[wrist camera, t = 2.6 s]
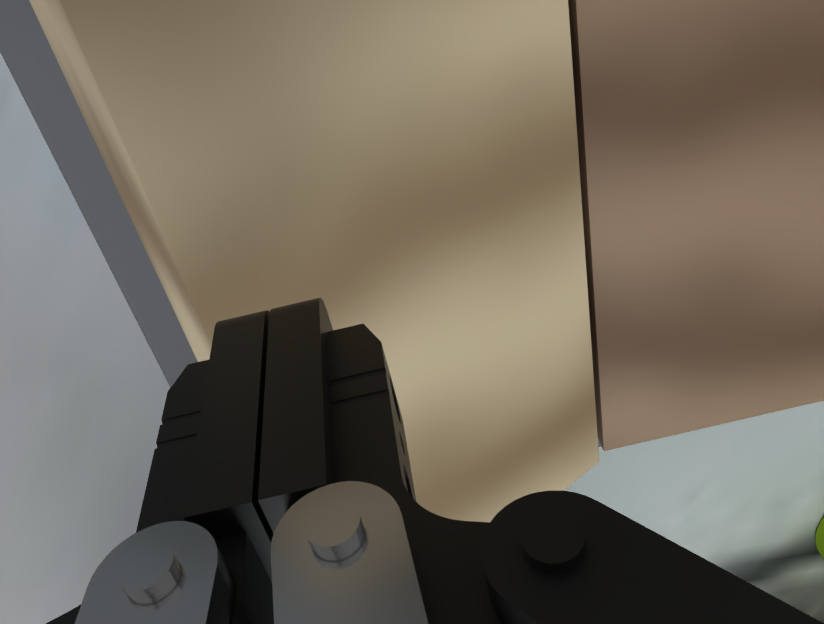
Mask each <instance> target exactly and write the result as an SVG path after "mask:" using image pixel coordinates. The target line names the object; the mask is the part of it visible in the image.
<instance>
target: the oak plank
mask: <svg viewBox="0 0 824 624" xmlns="http://www.w3.org/2000/svg"><path fill="white" fill-rule="evenodd" d="M29 1H30V3H31V5H32V7H33V10H34V12H35V14H36V16H37V18H38V20H39V22H40V25H41V27H42V29H43V31H44V33H45V35H46V37H47V40H48V42H49V44H50V46H51V48H52V50H53V52H54V55H55V57H56V59H57V61H58V63H59V65H60V67H61V70H62V72H63V74H64V76H65V78H66V80H67V82H68V85H69V87H70V89H71V91H72V93H73V95H74V97H75V100H76V102H77V104H78V106H79V108H80V110H81V112H82V115H83V117H84V119H85V121H86V123H87V125H88V127H89V130H90V132H91V134H92V136H93V138H94V140H95V142H96V145H97V147H98V149H99V151H100V153H101V155H102V157H103V160H104V162H105V164H106V166H107V168H108V170H109V172H110V175H111V177H112V179H113V181H114V183H115V185H116V187H117V190H118V192H119V194H120V196H121V198H122V200H123V202H124V205H125V207H126V209H127V211H128V213H129V215H130V217H131V220H132V222H133V224H134V226H135V228H136V230H137V232H138V235H139V237H140V239H141V241H142V243H143V245H144V247H145V250H146V252H147V254H148V256H149V258H150V260H151V262H152V265H153V267H154V269H155V271H156V273H157V275H158V277H159V280H160V282H161V284H162V286H163V288H164V290H165V292H166V295H167V297H168V299H169V301H170V303H171V305H172V307H173V310H174V312H175V314H176V316H177V318H178V320H179V322H180V325H181V327H182V329H183V331H184V333H185V335H186V337H187V340H188V342H189V344H190V346H191V348H192V350H193V352H194V355H195V357H196V359H197V361H198V362H200V361H205V360H209V359H210V352H211V346H212V340H213V334H214V328H215V325H216V323H217V322H218V321H222V320H227V319H231V318H235V317H240V316H244V315H248V314H253V313H257V312H261V311H265V310H268V311H270V310H271V309H273V308H278V307H282V306H286V305H290V304H295V303H299V302H303V301H308V300H312V299H316V298H322V300H323V302H324V304H325V307H326V309H327V312H328V315H329V319H330V322H331V325H332V328H333V330H337V329H342V328H346V327H350V326H354V325H359V324H363V323H364V325H365V326H366V327H367V328H368V329H369V330H370V331H371V332H372V333H373V334H374V335H375V336H376V337H377V338H378V339H379V340H380V341H381V343H382V346H383V350H384V354H385V357H386V361H387V365H388V368H389V372H390V375H391V379H392V383H393V386H394V390H395V394H396V397H397V401H398V404H399V408H400V412H401V415H402V419H403V424H404V430H405V436H406V442H407V450H408V454H409V460H410V466H411V473H412V478H413V484H414V490H415V496H416V502H417V503H418V504H419V505H420V506H422V507H423V508H425V509H426V510H428V511H430V512H432V513H434V514H436V515H439V516H441V517H445V518H449V519H453V520H461V521H475V522H491V520H492V519H493V518H494V517H495V515H496V514H497V513H498V512H499V511H500V510H502V509H503V508H504V507H505V506H506V505H508V504H510V503H511V502H513V501H514V500H516V499H519V498H521V497H523V496H525V495H529V494H532V493H536V492H542V491H564V490H565V489H566V488H567V487H569V486H570V485H571V484H572V483H573V482H575V481H576V480H577V479H578V478H580V477H581V476H582V475H583V474H584V473H586V472H587V471H588V470H589V469H591V468H592V467H593V466H594V465H595V464H597V463H598V462H599V449H598V434H597V419H596V405H595V390H594V375H593V360H592V346H591V331H590V316H589V301H588V287H587V272H586V257H585V243H584V228H583V213H582V198H581V184H580V169H579V154H578V139H577V125H576V110H575V95H574V80H573V66H572V51H571V36H570V22H569V7H568V0H29Z"/></svg>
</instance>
